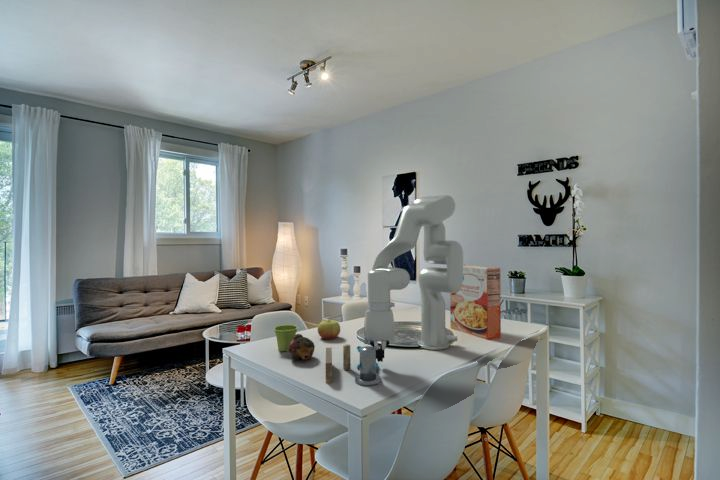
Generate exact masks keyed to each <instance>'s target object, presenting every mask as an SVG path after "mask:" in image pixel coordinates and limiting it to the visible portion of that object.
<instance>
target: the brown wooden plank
mask: <svg viewBox="0 0 720 480" xmlns="http://www.w3.org/2000/svg"><path fill="white" fill-rule="evenodd" d="M332 350H333V348H332V347H325V383H326V384H328V383H329V382H330V383H333V351H332ZM330 383H329V384H330Z"/></svg>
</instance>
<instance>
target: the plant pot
mask: <svg viewBox="0 0 720 480" xmlns="http://www.w3.org/2000/svg"><path fill="white" fill-rule="evenodd" d="M298 329H299V327H298V326H297V325H295V324H281V325H278V326H274V327H273V330H274V333H275V336H276V337H275V338H276V344H277V350H278V352H279V351H280V352H289V349H288V345H289V344H290V342H291V341H292V340H293V338H294V336H295V335H296V334H297V332H298V331H297V330H298Z"/></svg>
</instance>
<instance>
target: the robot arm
mask: <svg viewBox="0 0 720 480" xmlns="http://www.w3.org/2000/svg"><path fill="white" fill-rule="evenodd" d="M455 201H456V200H455V199H454V198H453V197H452V196H450V195H446V194H444V195H443V194H442V195H431V196H421V197H418V198H416V199H414V201H413V203H411V204H407V205H406V206H404V208H403V209H402V212H401V213H400V218H399V220H398V223H397V227H396V230H395V233H394V235H393V238H392V240H390V241H389V242H388V243H387V244H386V245H385V246H383V248H382V249H381V250H380V251H379V253H378V254H377V255H376V257H375V259H374V262H373V265H372V269H371V270H369V271H368V273H367V307H368V308H367V309H366V310H365V312H364V322H363V323H364V327H363V335H364V337H363V338H364V339H363V343H364V345H369V346H371V347H375V348H376V362H377V363H380V362H381V363H382V362H384V360H383V359H385V350H386V348H387V347H388V346H389V345H392V344H395V343H396V338H395V337H396V334H395V333H396V331H395V330H396V329H395V318H394V313H393V312H394V311H393V309H392V308H393V307H394V308H395V306H396V305H395V302H392V301H391V291H392V290H393V291H394V290H396V291H399V290H404V289H406V288H407V287H408V286H409V284H410V281H411V275H410V274H409V272H408V270H406V269H404V268H400V267H389V266H390V264H391V263H392V261H394V259H396V258H397V257H398V256H399V257H400V256H401V255H403V254H405V253H407V252H409V251H411V250H412V249H414V248H415V247H416V245H417V242H418V238H419V236H420V232H421V229H422V227H423V252H422V253H423V259H424V262H426V263H428V264H430V265H431V264H432V265H446V267H435V266H434V267H433V266H429V267H424V268H422V270H420V272H419V274H418V276H417V277H418V278H417V279H418V286H419V291H420V300H421V301H420V308H421V309H420V310H421V311H420V312H421V313H420V314H421V315H420V316H421V319H420V321H421V325H420V327H421V339H419V340H418V341H417V346H418V345H420V346H421V347H420V348H421V349H424V350H430V351H440V350H446V349H449V348H450V342H458V336H455V335H451V334H450V335H448V334H446V300H445V297H444V295H443V294H442V293H446V294H447V293H448V294H450V293H457V292H458V291H459V290H460V289H461V286H462V280H463V265H464V249H463V247H462V245H461V243H460V242H459V241H456V240H446V226H445V224H444V223H443V222H444V221H446V220H447V219H450V217H452V216H453V214H454V213H455V211H456V202H455ZM378 341H379V342H381V343H380V346H379V343H378Z"/></svg>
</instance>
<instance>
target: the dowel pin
mask: <svg viewBox="0 0 720 480" xmlns="http://www.w3.org/2000/svg"><path fill="white" fill-rule="evenodd" d="M342 355H343V356H342V361H343V363H342V364H343V371H350V370H351V369H352V367H351V366H352V364H351V344H346V343H345V344H343V345H342Z"/></svg>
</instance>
